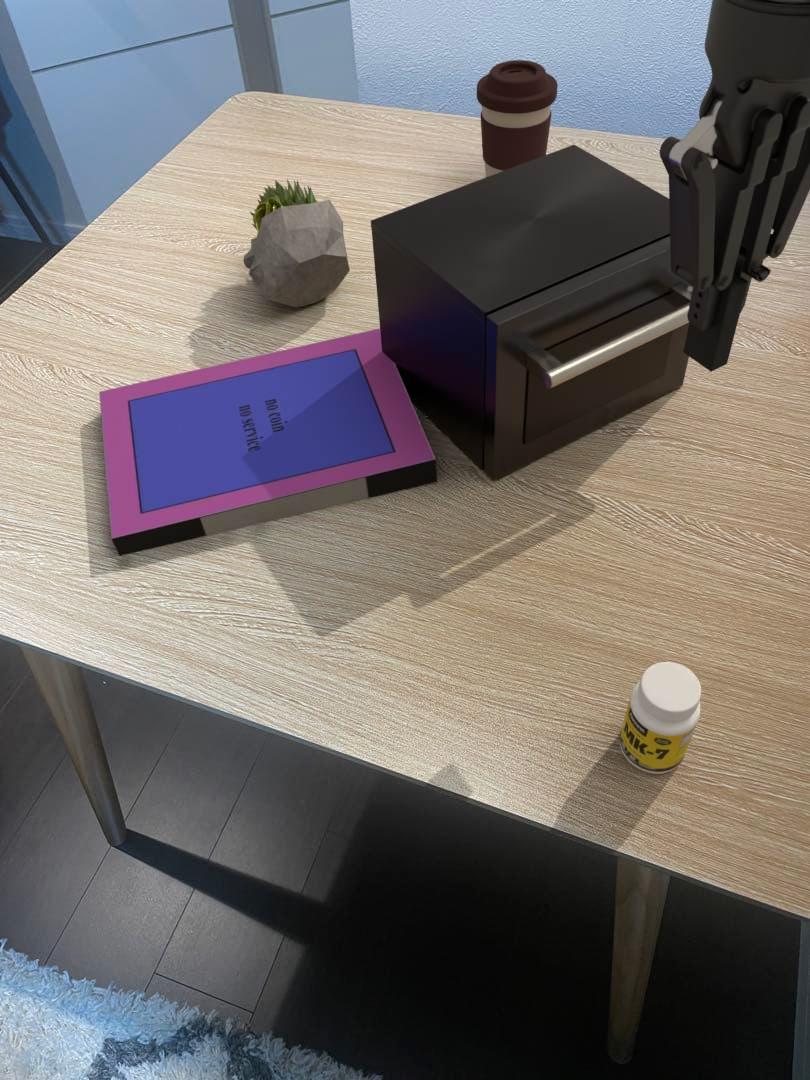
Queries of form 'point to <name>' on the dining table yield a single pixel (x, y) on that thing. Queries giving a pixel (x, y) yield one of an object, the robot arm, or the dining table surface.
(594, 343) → the oven door
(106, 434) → the book
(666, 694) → the supplement bottle
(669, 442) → the dining table surface
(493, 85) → the coffee cup
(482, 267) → the oven
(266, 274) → the potted plant
